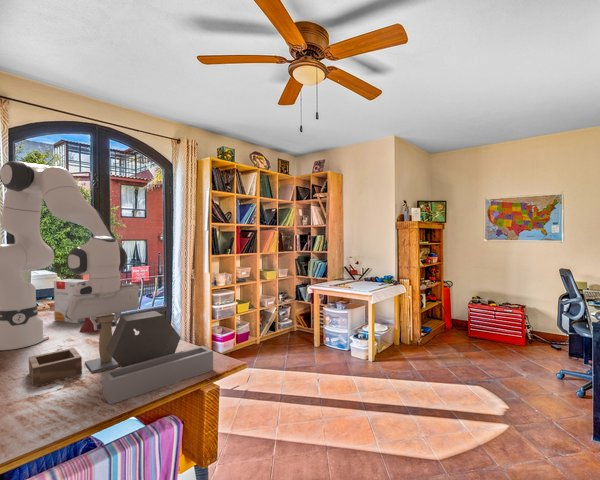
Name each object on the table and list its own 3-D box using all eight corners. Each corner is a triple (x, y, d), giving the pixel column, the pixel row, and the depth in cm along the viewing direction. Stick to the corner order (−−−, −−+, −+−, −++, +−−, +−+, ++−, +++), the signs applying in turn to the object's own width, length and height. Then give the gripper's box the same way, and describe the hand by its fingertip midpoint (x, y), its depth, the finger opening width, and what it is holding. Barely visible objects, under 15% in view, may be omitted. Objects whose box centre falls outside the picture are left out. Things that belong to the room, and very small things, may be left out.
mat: (84, 363, 105) (84, 361, 105) (118, 355, 112) (118, 353, 112) (92, 373, 98) (92, 370, 98) (127, 363, 105) (127, 361, 105)
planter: (181, 343, 111) (145, 298, 103) (190, 349, 105) (152, 301, 97) (136, 382, 102) (93, 336, 94) (144, 391, 96) (99, 343, 88)
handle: (101, 366, 101) (100, 319, 101) (94, 361, 105) (93, 315, 105) (117, 361, 105) (117, 316, 105) (110, 356, 109) (110, 312, 109)
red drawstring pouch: (110, 326, 148) (110, 307, 148) (98, 332, 139) (98, 311, 139) (91, 326, 148) (91, 307, 148) (79, 332, 139) (78, 311, 139)
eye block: (29, 373, 98) (28, 357, 98) (74, 362, 106) (74, 347, 106) (33, 385, 90) (32, 368, 90) (81, 373, 98) (81, 357, 98)
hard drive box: (53, 321, 158) (52, 280, 158) (68, 317, 165) (68, 278, 165) (77, 323, 153) (76, 281, 153) (92, 319, 161) (91, 279, 160)
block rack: (102, 395, 85) (102, 372, 85) (202, 364, 105) (202, 345, 105) (109, 404, 80) (109, 380, 80) (213, 370, 100) (213, 350, 100)
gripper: (135, 281, 114) (136, 319, 115) (65, 288, 100) (66, 332, 100) (142, 283, 110) (142, 323, 110) (69, 290, 95) (70, 337, 96)
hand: (105, 327), depth 105 cm, fingers closed on handle, 3 cm apart
